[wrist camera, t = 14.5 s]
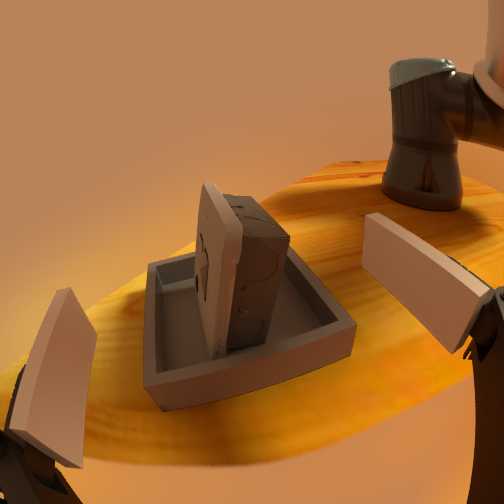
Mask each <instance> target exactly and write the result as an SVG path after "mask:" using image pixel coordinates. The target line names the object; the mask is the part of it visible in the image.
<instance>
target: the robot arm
mask: <svg viewBox="0 0 504 504" xmlns="http://www.w3.org/2000/svg"><path fill="white" fill-rule="evenodd" d="M455 70H456V67H455V66H454V64H453V63H452V62H451V61H449V60H443V59H439V58H412V59H406V60H401V61H398V62H395V63H394V64H393V65H392V66H391V67H390V70H389V74H390V87H389V91H391V102H392V129H393V130H392V131H393V145H392V150H391V153H390V157H389V160H388V164H387V168H386V171H385V172H384V174H383V177H382V191H383V192H384V193H385V194H386V195H387V196H389V197H390V198H392V199H394V200H396V201H399V202H401V203H404V204H407V205H410V206H414V207H418V208H423V209H430V210H453V209H457V208H459V207H460V206H461V204H462V197H463V188H462V181H461V175H460V170H459V164H458V160H457V147H458V145H457V144H458V140H462V141H467V142H472V143H476V144H480V145H483V146H487V147H491V148H494V149H498V150H501V151H504V0H488V31H487V43H486V54H485V58H484V59H480V60H479V61H477V62H476V63H475V66H474V71H473V75H471V74H467V73H461V72H457V71H455ZM361 266H362V267H363V268H364V269H365V270H366V271H367V272H368V273H370V274H371V275H372V276H373V277H374V278H375V279H376V280H377V281H378V282H379V283H380V284H381V285H383V286H384V287H385V288H386V289H387V290H388V291H389V292H390V293H391V294H392V295H393V296H394V297H395V298H396V299H397V300H398V301H399V302H400V303H401V304H402V305H403V306H404V307H406V308H407V309H408V310H409V311H410V312H411V313H412V314H413V315H414V316H415V317H416V318H417V319H418V320H419V321H420V322H421V323H422V324H423V325H424V326H425V327H426V328H427V330H428V331H429V332H430V333H431V334H432V335H433V336H434V337H435V338H436V339H437V340H438V341H439V342H440V343H441V344H442V345H443V346H444V347H445V348H446V349H447V351H448V352H449V353H450V354H451V355H452V354H453V353H455V352H456V351H457V350H458V349H460V348H461V347H462V346H463V345H464V343H465V341H466V339H467V337H468V336H469V335H470V336H471V337H472V338H473V339H472V340H471V342H470V344H469V346H468V348H467V349H466V351H465V353H464V354H463V359H466V357H467V355H468V354H469V352H470V351H471V354H470V356H469V358H468V360H472V363H473V373H474V384H475V403H476V404H475V407H476V428H475V448H474V460H473V469H472V476H471V483H470V489H469V494H468V499H467V504H504V286H502V287H498V288H496V290H494V289H493V288H492V287H490V286H489V285H488V284H487V283H485V282H484V281H483V280H481V279H480V278H479V277H478V276H476V275H475V274H474V273H472V272H471V271H470V270H469V271H468V269H467V268H466V267H464V266H463V265H462V266H461V264H460V263H459V262H457V261H456V260H454V259H453V258H452V257H449V256H447V255H444V254H443V253H442V252H440V251H439V250H437V249H436V248H434V247H433V246H431V245H430V244H428V243H427V242H425V241H424V240H422V239H421V238H419V237H418V236H416V235H414V234H413V233H411V232H410V231H408V230H407V229H405V228H403V227H402V226H400V225H398V224H397V223H395V222H394V221H392V220H390V219H389V218H387V217H385V216H384V215H382V214H380V213H378V212H376V213H372V214H367V215H365V228H364V241H363V253H362V263H361ZM97 335H98V334H97V333H96V331H95V330H94V328H93V326H92V325H91V323H90V321H89V320H88V318H87V316H86V314H85V313H84V311H83V309H82V307H81V306H80V304H79V302H78V300H77V298H76V296H75V295H74V293H73V291H72V289H71V288H70V287H69V288H65V289H61V290H57V292H56V294H55V296H54V298H53V300H52V302H51V304H50V306H49V309H48V311H47V313H46V315H45V317H44V320H43V322H42V325H41V327H40V329H39V331H38V334H37V336H36V339H35V342H34V344H33V347H32V349H31V352H30V355H29V358H28V361H27V364H25V365H24V367H23V368H22V370H21V371H20V373H19V375H18V378H17V381H16V384H15V388H14V391H13V394H12V396H13V398H11V402H10V406H9V410H8V414H7V418H6V423H5V428H4V432H3V431H2V430H0V492H2V493H3V494H4V499H1V498H0V504H83V503H82V502H81V501H80V499H79V498H78V497H77V495H76V494H75V492H74V491H73V490H72V488H71V487H70V485H69V484H68V482H67V481H66V479H65V478H64V477H63V475H62V473H61V472H60V471H59V470H58V469H57V468H55V461H56V462H58V463H60V464H61V465H63V466H65V467H69V468H79V469H83V441H84V425H85V413H86V403H87V395H88V387H89V380H90V373H91V367H92V361H93V356H94V350H95V345H96V340H97Z"/></svg>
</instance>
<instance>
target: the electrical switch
mask: <svg viewBox="0 0 504 504" xmlns="http://www.w3.org/2000/svg"><path fill="white" fill-rule="evenodd" d="M273 226H274V228H273ZM281 238H286V239H281ZM289 243H290V236H289V235H288V234H287V233H286V232H285V231H284V229H283V228H282V227H281V226H280V225H279V224H278V223H277V222H276V221H275V220H274V219H273V218H272V217H271V216H270V215H269V214H268V213H267V212H266V211H265V210H264V209H263V208H262V207H261V206H260V205H259V204H258V203H257V202H256V201H255V200H254V199H253V198H252V197H251V196H233V195H229V194H221V192H220V191H219V189H218V187H217V186H216V185H215V183H203V186H202V191H201V198H200V205H199V214H198V226H197V238H196V252H195V268H194V285H195V291H196V296H197V302H198V307H199V312H200V316H201V321H202V326H203V331H204V335H205V340H206V344H207V348H208V353H209V357H210V360H218V359H222V358H225V357H226V349H229V348H241V347H244V346H247V345H254V344H262V343H265V341H266V338H267V334H268V330H269V326H270V322H271V318H272V314H273V310H274V306H275V302H276V298H277V294H278V290H279V286H280V281H281V277H282V273H283V269H284V265H285V260H286V256H287V251H288V247H289ZM274 271H275V272H274ZM247 280H248V281H247ZM250 311H251V312H250Z"/></svg>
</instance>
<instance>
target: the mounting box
mask: <svg viewBox="0 0 504 504" xmlns="http://www.w3.org/2000/svg"><path fill="white" fill-rule="evenodd" d="M281 239H283V238H281ZM194 268H195V252H192V253H189V254H185V255H181V256H177V257H173V258H169V259H165V260H161V261H158V262H153V263H150V264H148V271H147V283H146V296H145V313H144V342H143V380H144V388H145V389H146V391H147V392H148V393H149V395H150V396H151V397H152V398H153V400H154V401H155V402H156V403H157V405H158V406H159V407H160V408H161V409H162V411H163V412H164V411H170V410H175V409H181V408H186V407H191V406H195V405H200V404H205V403H209V402H213V401H217V400H221V399H225V398H229V397H233V396H237V395H240V394H244V393H247V392H251V391H254V390H258V389H261V388H264V387H267V386H270V385H274V384H277V383H280V382H283V381H286V380H288V379H291V378H294V377H297V376H300V375H302V374H305V373H308V372H310V371H313V370H316V369H318V368H321V367H323V366H326V365H328V364H331V363H333V362H335V361H338V360H340V359H342V358H345V357H347V356H349V355H351V351H352V347H353V342H354V337H355V332H356V327H357V324H356V322H355V321H354V320H353V319H352V318H351V316H350V315H349V314H348V313H347V312H346V310H345V309H344V308H343V307H342V306H341V304H340V303H339V302H338V301H337V300H336V299H335V297H334V296H333V295H332V294H331V293H330V291H329V290H328V289H327V288H326V287H325V286H324V284H323V283H322V282H321V281H320V280H319V279H318V277H317V276H316V275H315V274H314V273H313V272H312V271H311V269H310V268H309V267H308V266H307V265H306V264H305V263H304V261H303V260H302V259H301V258H300V257H299V256H298V255H297V253H296V252H295V251H294V250H293V249H292V248H291V247H290V245H289V247H288V251H287V256H286V260H285V265H284V269H283V273H282V277H281V281H280V286H279V290H278V294H277V298H276V302H275V306H274V310H273V314H272V318H271V322H270V326H269V330H268V334H267V338H266V341H265V343H262V344H254V345H247V346H244V347H241V348H229V349H226V357H225V358H222V359H218V360H210V357H209V353H208V348H207V344H206V340H205V335H204V331H203V326H202V321H201V316H200V312H199V307H198V302H197V296H196V291H195V285H194ZM274 272H275V271H274ZM247 281H248V280H247ZM250 312H251V311H250Z"/></svg>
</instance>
